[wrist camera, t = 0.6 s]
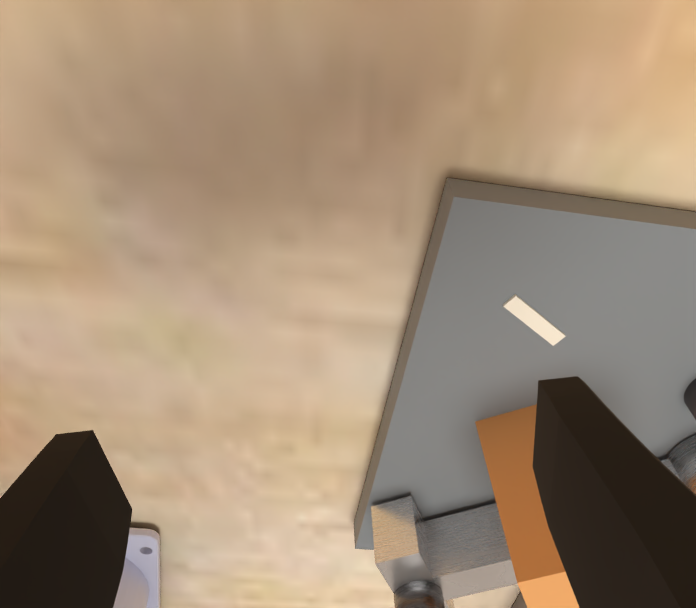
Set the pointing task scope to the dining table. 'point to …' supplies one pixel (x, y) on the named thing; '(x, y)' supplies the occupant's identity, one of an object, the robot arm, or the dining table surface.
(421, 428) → the crank board
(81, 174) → the dining table surface
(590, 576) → the robot arm
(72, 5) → the dining table surface
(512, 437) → the block
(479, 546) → the crank
